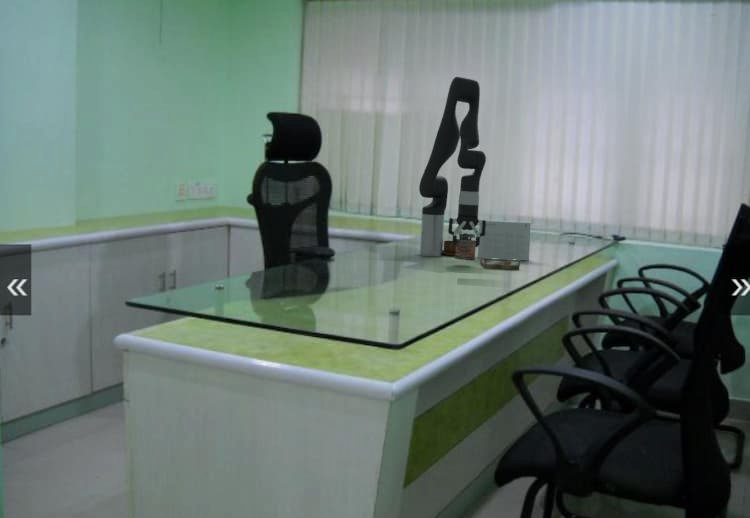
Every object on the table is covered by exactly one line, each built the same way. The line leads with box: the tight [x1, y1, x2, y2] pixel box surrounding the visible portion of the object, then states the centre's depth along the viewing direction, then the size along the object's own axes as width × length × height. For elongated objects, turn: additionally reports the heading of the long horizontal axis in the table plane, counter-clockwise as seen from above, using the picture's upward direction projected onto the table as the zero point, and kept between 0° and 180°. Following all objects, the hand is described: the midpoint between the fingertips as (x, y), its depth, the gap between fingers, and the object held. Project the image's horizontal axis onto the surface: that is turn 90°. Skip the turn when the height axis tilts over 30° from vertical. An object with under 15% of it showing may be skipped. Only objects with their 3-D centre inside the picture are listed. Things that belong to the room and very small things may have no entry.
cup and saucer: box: [442, 240, 456, 257], centre depth 348 cm, size 12×12×6 cm
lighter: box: [454, 232, 476, 261], centre depth 313 cm, size 8×3×10 cm, turn 62°
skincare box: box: [477, 220, 532, 262], centre depth 343 cm, size 21×6×16 cm, turn 84°
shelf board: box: [479, 258, 521, 271], centre depth 315 cm, size 13×17×4 cm
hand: (465, 246), depth 313 cm, fingers closed on lighter, 7 cm apart
